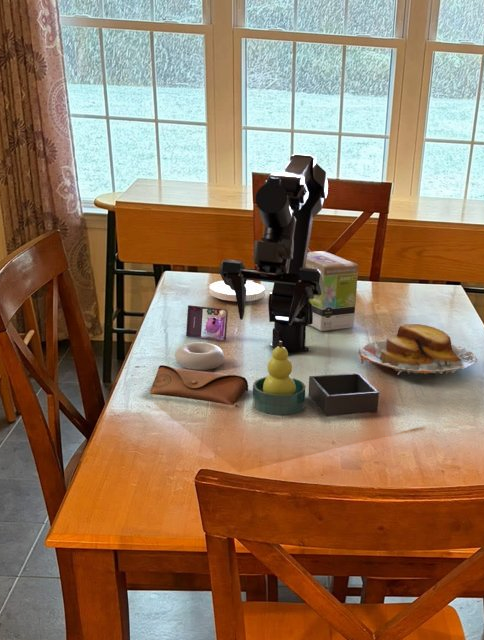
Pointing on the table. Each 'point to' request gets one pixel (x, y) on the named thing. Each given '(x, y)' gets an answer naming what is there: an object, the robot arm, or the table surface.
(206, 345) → the donut
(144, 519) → the table surface
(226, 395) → the sunglasses case
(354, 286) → the tea box
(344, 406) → the bin
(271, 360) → the pear
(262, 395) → the bowl
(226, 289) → the plastic lid
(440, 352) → the food on plate
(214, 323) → the purple toy box
